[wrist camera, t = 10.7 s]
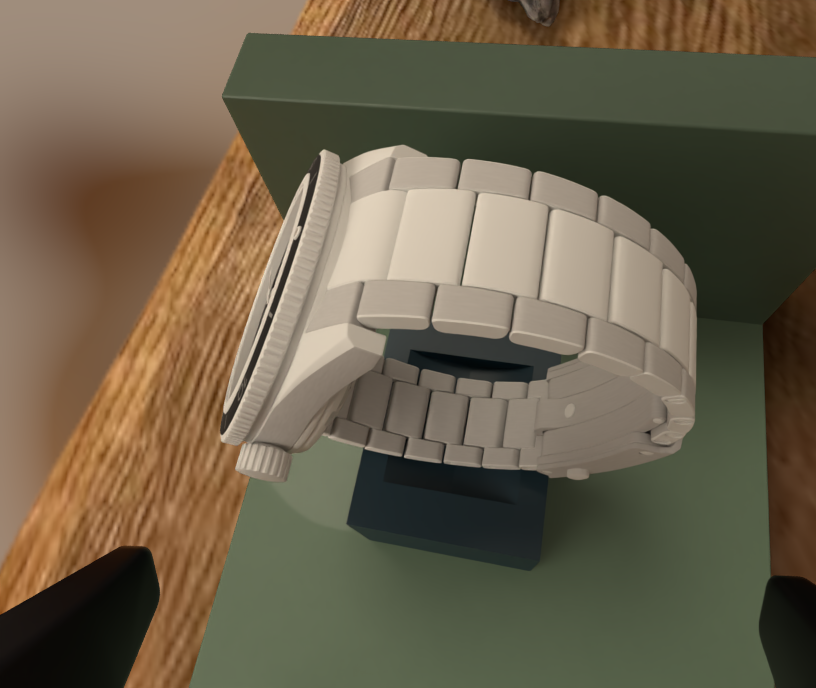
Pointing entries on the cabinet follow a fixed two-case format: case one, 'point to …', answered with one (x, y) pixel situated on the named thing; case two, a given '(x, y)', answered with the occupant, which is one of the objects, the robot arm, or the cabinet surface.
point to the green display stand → (566, 498)
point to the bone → (540, 10)
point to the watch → (462, 346)
